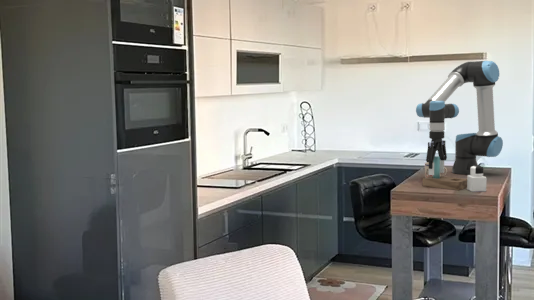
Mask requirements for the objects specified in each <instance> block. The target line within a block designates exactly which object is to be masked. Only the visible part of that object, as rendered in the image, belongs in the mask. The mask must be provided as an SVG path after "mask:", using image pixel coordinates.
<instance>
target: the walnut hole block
mask: <svg viewBox="0 0 534 300" xmlns="http://www.w3.org/2000/svg"><path fill="white" fill-rule="evenodd" d="M422 187H427V188H428V187H429V188H436V189H445V190H452V191H460V190H464V189H467V178H461V177H450V176H440V178H439V179H435V178H433V176H431V177H427V178H425V177H423V178H422Z"/></svg>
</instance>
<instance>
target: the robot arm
mask: <svg viewBox="0 0 534 300" xmlns="http://www.w3.org/2000/svg"><path fill="white" fill-rule="evenodd" d="M499 77H500V68H499V66H498V65H497V63H496V62H495V61H492V60H478V61H477V60H476V61H466V62H464V63H461V64H460V65H458V66H457V67H456V68H454V69H453V70H452V71H451V72H450V73H448V76H447V78H446V79H445V80H444V82H443V83H442V84H441V85H440V86H439V87H438V88H437V89H436V90H435V91H434V93H433V94H432V95H431V96H430V97H429V98H428V100H426V101H425V103H424V102H422V103H418V104H417V106H416V107H415V112H416V115H417V117H419V118H424V119H425V118H429V124H428V125H429V128H428V129H429V133H428V134H429V136H428V138H429V139H431V140H430V142H427V150H426V151H427V152H426V157H425V161H426V163H427V162H429V175H434V163H433V161H434V157H435V156H436V153H437V154H438V157H440V173H441V174H445V169H444V167H445V161H447V158H448V157H447V156H448V155H447V149H446V140H444V139H445V127H446V126H445V120H446V119H453V118H456V117H458V115H459V112H460V109H459V106H458V105H457V104H455V103H446V101H447V100H448V99H449V98H450V97H451V96H452V95H453V94H454V92H455V91H457V89H458V88H459V87H462V86H463V85H464V84H466V83H473V85H472V86H473V87H474V89H475V90H476V91H475V92H476V105H477V106H476V107H477V121H478V122H477V123H478V124H477V125H478V131H477V132H470V133H461V134H457V135H456V136H455V141H454V142H455V146H454V147H455V150H454V152H455V154H454V155H455V157H454V158H455V160H454V163H453V165H452V168H451V173H452V174H459V175H471V174H470V168H471V167H472V166H479V164H478V161H477V157H486V158H496V157H497V156H499V155H500V153H502V152H501V151H502V150H503V146H504V145H503V144H504V142H503V138H502V137H500V136H499V134H498V131H497V130H496V129H495V126H496V125H495V111H494V110H495V107H494V90H493V88H494V87H495V86H496V82H497V81H498V80H499V79H500V78H499Z"/></svg>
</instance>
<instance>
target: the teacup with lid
mask: <svg viewBox="0 0 534 300" xmlns="http://www.w3.org/2000/svg"><path fill="white" fill-rule="evenodd" d="M447 172H448V169H447V167H445V166H444V173H443V174H442V173H440V176H443V177H445V175H447ZM431 176H433V175H429V162H427V161H426V162H425V163H424V178H427V177H431Z"/></svg>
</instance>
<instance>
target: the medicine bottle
mask: <svg viewBox="0 0 534 300" xmlns="http://www.w3.org/2000/svg"><path fill="white" fill-rule="evenodd" d="M466 179H467V188H466V190H467V191H469V192H473V193H475V192H477V193H478V192H479V193H481V192H487V177H486V176H484V167H483V166H480V165H478V166H472V167H471V168H470V174H467V177H466Z"/></svg>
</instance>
